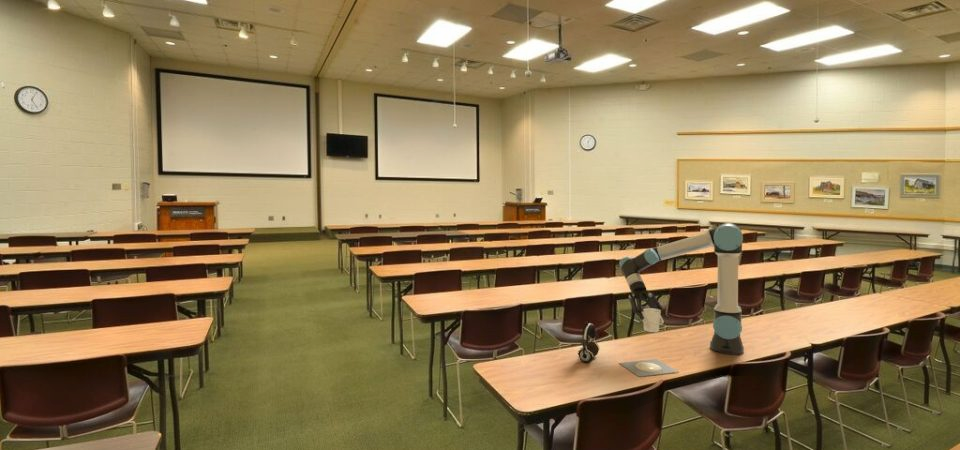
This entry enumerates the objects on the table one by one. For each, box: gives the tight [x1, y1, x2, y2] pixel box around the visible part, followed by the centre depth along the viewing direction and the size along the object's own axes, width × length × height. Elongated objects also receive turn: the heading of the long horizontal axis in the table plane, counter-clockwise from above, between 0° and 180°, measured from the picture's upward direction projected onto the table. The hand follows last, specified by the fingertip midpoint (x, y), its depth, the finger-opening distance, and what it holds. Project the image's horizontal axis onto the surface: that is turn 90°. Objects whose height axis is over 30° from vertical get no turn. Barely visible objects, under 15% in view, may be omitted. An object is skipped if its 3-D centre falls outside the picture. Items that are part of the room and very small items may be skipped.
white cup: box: [642, 307, 662, 333], centre depth 221 cm, size 8×8×10 cm
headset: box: [577, 321, 600, 363], centre depth 218 cm, size 17×8×20 cm, turn 150°
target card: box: [618, 358, 679, 378], centre depth 208 cm, size 20×16×1 cm
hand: (654, 324), depth 219 cm, fingers closed on white cup, 8 cm apart
